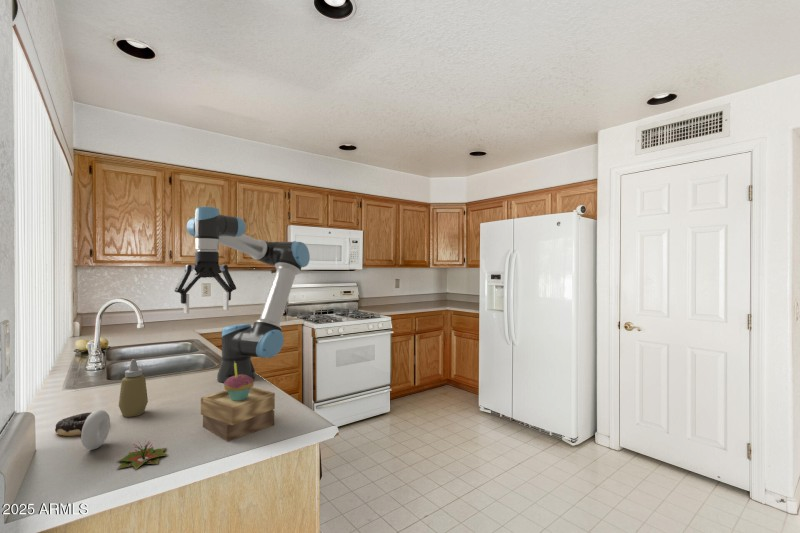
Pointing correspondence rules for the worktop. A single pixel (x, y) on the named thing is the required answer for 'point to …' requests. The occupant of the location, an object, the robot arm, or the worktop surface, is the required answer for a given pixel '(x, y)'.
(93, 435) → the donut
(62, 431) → the donut
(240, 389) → the cupcake
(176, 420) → the worktop surface
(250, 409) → the tower top
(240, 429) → the tower base
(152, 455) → the lily flower
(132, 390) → the squeeze bottle
